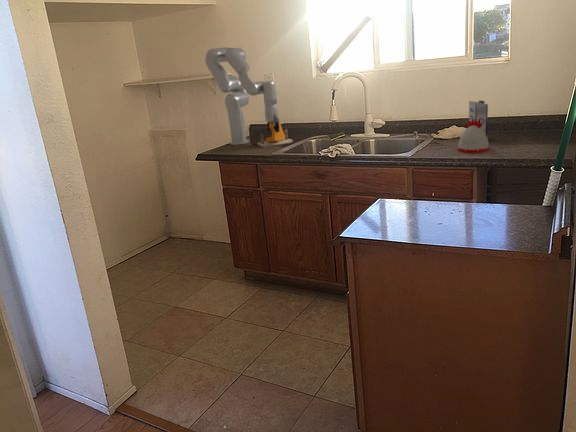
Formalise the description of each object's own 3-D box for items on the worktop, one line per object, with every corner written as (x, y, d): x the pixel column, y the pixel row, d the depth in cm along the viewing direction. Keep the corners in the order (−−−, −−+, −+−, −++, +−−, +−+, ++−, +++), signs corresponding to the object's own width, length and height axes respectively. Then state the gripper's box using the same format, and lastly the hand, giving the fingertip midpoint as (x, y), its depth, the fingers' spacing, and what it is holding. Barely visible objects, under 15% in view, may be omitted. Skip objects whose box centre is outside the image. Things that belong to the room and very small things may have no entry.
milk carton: (468, 139, 258) (468, 100, 252) (480, 137, 258) (481, 99, 252) (474, 141, 251) (475, 101, 245) (487, 139, 252) (488, 100, 245)
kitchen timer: (481, 154, 225) (482, 121, 220) (453, 152, 234) (453, 120, 229) (493, 147, 234) (494, 116, 229) (465, 146, 243) (465, 115, 238)
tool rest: (257, 145, 301) (256, 133, 298) (285, 140, 308) (284, 128, 305) (264, 147, 292) (262, 134, 290) (292, 142, 299) (291, 129, 297)
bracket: (275, 139, 305) (272, 120, 302) (285, 138, 301) (282, 119, 297) (265, 143, 297) (262, 123, 293) (275, 142, 292) (271, 122, 289)
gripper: (259, 102, 298) (262, 130, 303) (270, 104, 283) (273, 133, 288) (270, 101, 301) (273, 128, 306) (282, 102, 286) (285, 131, 291)
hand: (273, 131), depth 297 cm, fingers open, 9 cm apart
